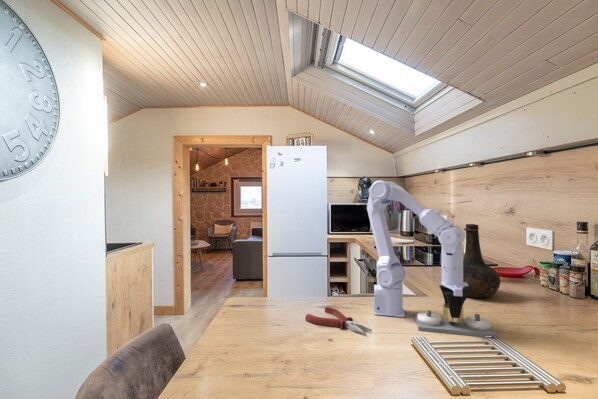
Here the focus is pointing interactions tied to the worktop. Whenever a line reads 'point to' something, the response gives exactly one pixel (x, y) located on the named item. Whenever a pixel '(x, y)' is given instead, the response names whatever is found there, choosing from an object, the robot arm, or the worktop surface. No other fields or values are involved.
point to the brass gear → (448, 317)
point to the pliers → (337, 321)
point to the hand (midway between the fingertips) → (452, 313)
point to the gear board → (455, 325)
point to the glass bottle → (477, 268)
